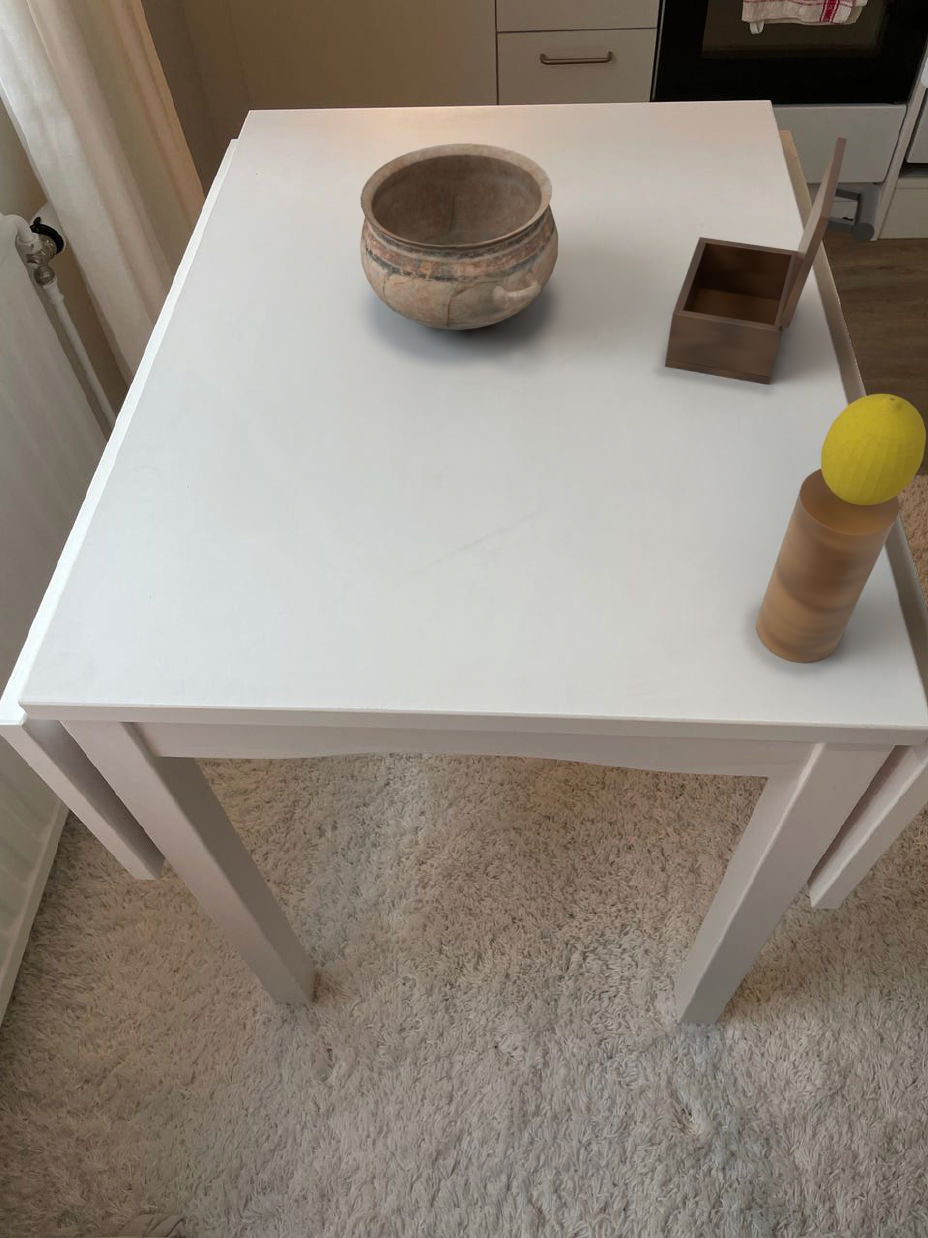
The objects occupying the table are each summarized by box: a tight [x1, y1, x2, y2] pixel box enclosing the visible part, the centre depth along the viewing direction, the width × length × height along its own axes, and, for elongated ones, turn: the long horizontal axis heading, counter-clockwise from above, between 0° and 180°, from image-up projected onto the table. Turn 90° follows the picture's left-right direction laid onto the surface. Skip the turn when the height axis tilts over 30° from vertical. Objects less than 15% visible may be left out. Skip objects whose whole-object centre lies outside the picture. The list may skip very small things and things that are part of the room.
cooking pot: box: [359, 143, 559, 331], centre depth 92 cm, size 25×19×12 cm
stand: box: [755, 468, 900, 664], centre depth 65 cm, size 6×6×14 cm
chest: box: [664, 236, 798, 385], centre depth 90 cm, size 10×13×6 cm
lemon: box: [820, 393, 927, 505], centre depth 57 cm, size 6×6×8 cm
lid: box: [779, 136, 882, 329], centre depth 81 cm, size 10×13×5 cm
